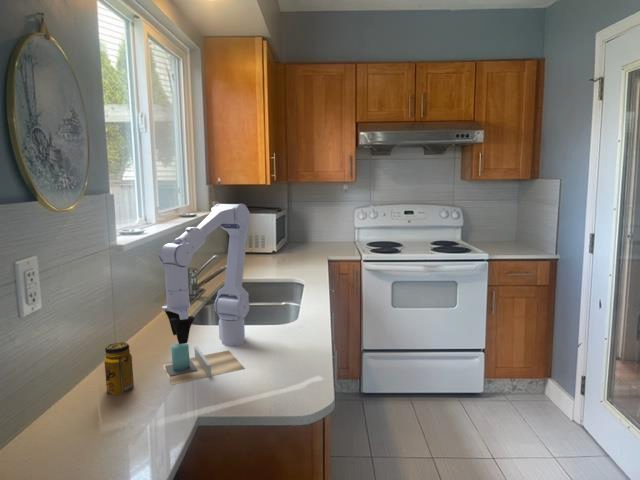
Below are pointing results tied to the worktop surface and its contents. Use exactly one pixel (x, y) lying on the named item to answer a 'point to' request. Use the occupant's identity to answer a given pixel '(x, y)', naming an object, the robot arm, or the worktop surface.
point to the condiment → (118, 369)
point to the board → (219, 365)
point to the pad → (174, 373)
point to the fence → (203, 361)
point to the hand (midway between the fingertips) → (180, 338)
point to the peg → (180, 357)
